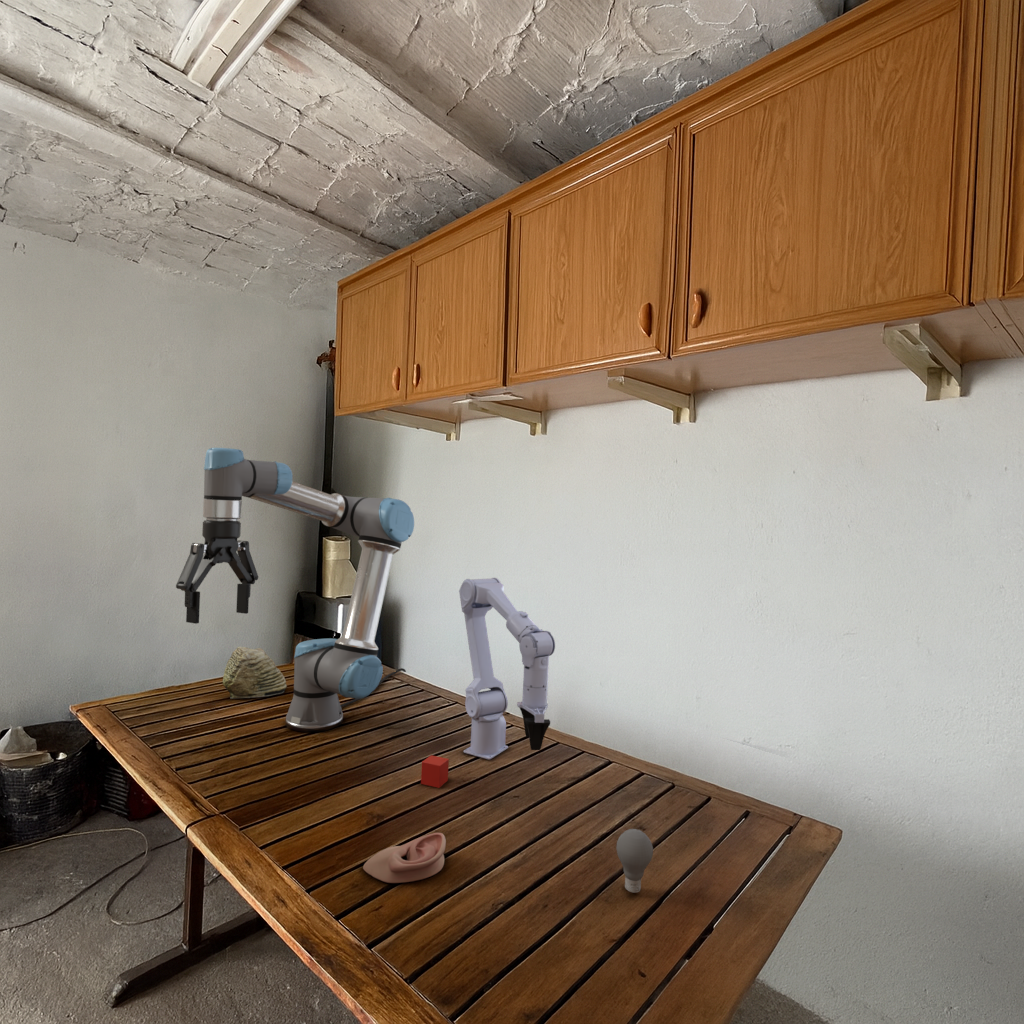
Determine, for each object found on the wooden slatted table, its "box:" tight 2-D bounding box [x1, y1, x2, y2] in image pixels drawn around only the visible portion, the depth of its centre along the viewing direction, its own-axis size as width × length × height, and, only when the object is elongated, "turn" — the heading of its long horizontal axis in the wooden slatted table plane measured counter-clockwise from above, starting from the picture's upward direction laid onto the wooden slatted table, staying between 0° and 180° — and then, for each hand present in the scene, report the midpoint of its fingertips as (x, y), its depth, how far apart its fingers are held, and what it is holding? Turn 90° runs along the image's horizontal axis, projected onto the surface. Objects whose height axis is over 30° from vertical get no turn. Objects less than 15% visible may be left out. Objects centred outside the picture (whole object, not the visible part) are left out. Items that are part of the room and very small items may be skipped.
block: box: [420, 754, 450, 789], centre depth 143 cm, size 4×5×5 cm
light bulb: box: [615, 828, 654, 894], centre depth 106 cm, size 6×6×10 cm
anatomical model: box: [362, 832, 447, 884], centre depth 110 cm, size 13×4×12 cm
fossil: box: [222, 646, 288, 699], centre depth 198 cm, size 9×18×15 cm, turn 132°
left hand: (218, 617), depth 137 cm, fingers open, 13 cm apart
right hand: (532, 742), depth 146 cm, fingers open, 7 cm apart
